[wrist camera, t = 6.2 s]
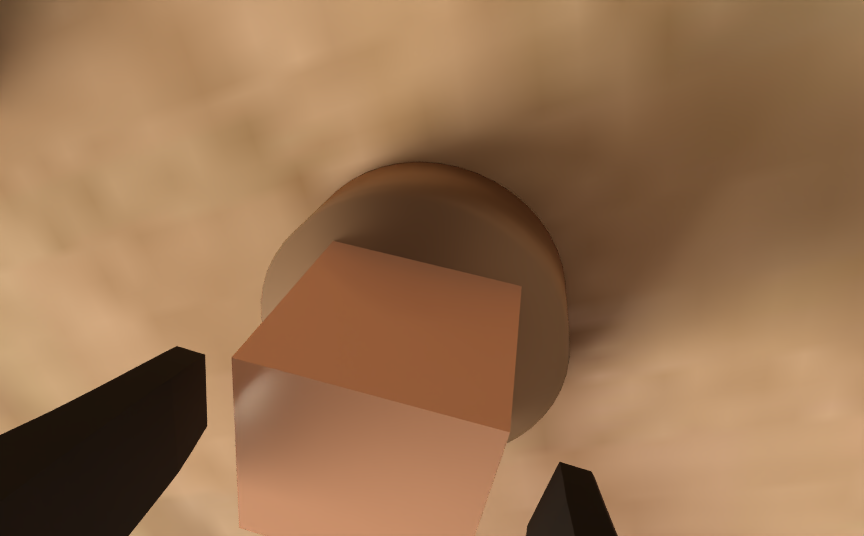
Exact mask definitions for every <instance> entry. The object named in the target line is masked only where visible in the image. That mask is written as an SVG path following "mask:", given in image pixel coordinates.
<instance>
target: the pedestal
mask: <svg viewBox="0 0 864 536" xmlns="http://www.w3.org/2000/svg"><path fill="white" fill-rule="evenodd" d="M333 241H336V242H340V243H344V244H348V245H353V246H357V247H361V248H365V249H369V250H373V251H378V252H382V253H386V254H390V255H394V256H398V257H403V258H407V259H411V260H415V261H419V262H423V263H427V264H432V265H436V266H440V267H444V268H448V269H452V270H457V271H461V272H465V273H469V274H473V275H477V276H482V277H486V278H490V279H494V280H498V281H502V282H506V283H511V284H515V285H519V286H522V289H521V301H520V314H519V326H518V339H517V352H516V364H515V377H514V390H513V402H512V415H511V428H510V434H509V437H508V440H507V443H508V442H510V441H512V440H514V439H516V438H517V437H519V436H520V435H522V434H523V433H525V432H526V431H527V430H529V429H530V428H532V427H533V426H534V425H535V424H536V423H537V422H538V421H539V420H540V419H541V418H542V417H543V416H544V415H545V414H546V412H547V411H548V410H549V409H550V407H551V406H552V405H553V403H554V401H555V400H556V398H557V396H558V394H559V392H560V391H561V388H562V385H563V383H564V380H565V377H566V374H567V369H568V363H569V357H570V338H569V325H568V312H567V299H566V286H565V278H564V272H563V266H562V263H561V260H560V257H559V254H558V251H557V249H556V247H555V244H554V242H553V240H552V238H551V236H550V234H549V233H548V231H547V230H546V228H545V227H544V226H543V224H542V223H541V221H540V220H539V218H538V217H537V216H536V215H535V214H534V213H533V212H532V211H531V210H530V208H529V207H528V206H527V205H526V204H525V203H523V202H522V201H521V200H520V199H519V198H517V197H516V196H515V195H514V194H513V193H512V192H510V191H508V190H507V189H505V188H504V187H502V186H501V185H499V184H498V183H496V182H494V181H492V180H490V179H488V178H486V177H484V176H482V175H480V174H478V173H475V172H472V171H469V170H466V169H463V168H460V167H456V166H451V165H446V164H440V163H428V162H411V163H399V164H394V165H389V166H384V167H381V168H378V169H375V170H372V171H369V172H367V173H364V174H362V175H361V176H359V177H357V178H355V179H353V180H351V181H350V182H348V183H347V184H346V185H344V186H343V187H341V188H340V189H339V190H337V191H336V192H335V193H334V194H333V195H332V196H331V197H330V198H329V199H328V200H327V201H326V202H325V203H324V204H323V205H321V206H320V207H319V208H318V209H317V210H316V211H315V212H314V213H313V214H312V215H311V216H310V217H309V218H308V219H307V220H306V221H305V222H304V223H302V224H301V225H300V226H299V227H298V228H297V229H296V230H295V231H294V232H293V233H292V234H291V235H290V236H289V237H288V238H287V239H286V240H285V241H284V243H283V244H282V246H281V247H280V248H279V250H278V251H277V253H276V254H275V256H274V258H273V260H272V262H271V264H270V266H269V268H268V270H267V273H266V277H265V281H264V284H263V289H262V298H261V318H262V322H263V321H264V320H265V319H266V318H267V316H268V315H269V314H270V313H271V312H272V311H273V309H274V308H275V307H276V306H277V305H278V304H279V303H280V301H281V300H282V299H283V298H284V297H285V296H286V295H287V293H288V292H289V291H290V290H291V289H292V288H293V287H294V285H295V284H296V283H297V282H298V281H299V280H300V278H301V277H302V276H303V275H304V274H305V273H306V272H307V270H308V269H309V268H310V267H311V266H312V265H313V264H314V262H315V261H316V260H317V259H318V258H319V257H320V255H321V254H322V253H323V252H324V251H325V250H326V249H327V247H328V246H329V245H330V244H331V243H332V242H333Z"/></svg>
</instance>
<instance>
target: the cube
mask: <svg viewBox="0 0 864 536" xmlns="http://www.w3.org/2000/svg"><path fill="white" fill-rule="evenodd" d="M521 289H522V286H519V285H515V284H511V283H506V282H502V281H498V280H494V279H490V278H486V277H482V276H477V275H473V274H469V273H465V272H461V271H457V270H452V269H448V268H444V267H440V266H436V265H432V264H427V263H423V262H419V261H415V260H411V259H407V258H403V257H398V256H394V255H390V254H386V253H382V252H378V251H373V250H369V249H365V248H361V247H357V246H353V245H348V244H344V243H340V242H336V241H333V242H332V243H331V244H330V245H329V246H328V247H327V249H326V250H325V251H324V252H323V253H322V254H321V255H320V257H319V258H318V259H317V260H316V261H315V262H314V264H313V265H312V266H311V267H310V268H309V269H308V270H307V272H306V273H305V274H304V275H303V276H302V277H301V278H300V280H299V281H298V282H297V283H296V284H295V285H294V287H293V288H292V289H291V290H290V291H289V292H288V293H287V295H286V296H285V297H284V298H283V299H282V300H281V301H280V303H279V304H278V305H277V306H276V307H275V308H274V309H273V311H272V312H271V313H270V314H269V315H268V316H267V318H266V319H265V320H264V321H263V322H262V323H261V324H260V326H259V327H258V328H257V329H256V330H255V331H254V332H253V334H252V335H251V336H250V337H249V338H248V339H247V341H246V342H245V343H244V344H243V345H242V346H241V347H240V349H239V350H238V351H237V352H236V353H235V354H234V355H233V357H232V375H233V398H234V420H235V442H236V465H237V487H238V509H239V528H242V529H245V530H248V531H252V532H255V533H258V534H261V535H265V536H475V533H476V530H477V528H478V525H479V522H480V519H481V516H482V513H483V510H484V507H485V504H486V501H487V498H488V495H489V493H490V490H491V487H492V484H493V481H494V478H495V475H496V472H497V469H498V466H499V463H500V461H501V458H502V455H503V452H504V449H505V446H506V443H507V440H508V437H509V434H510V428H511V415H512V402H513V390H514V377H515V364H516V352H517V339H518V326H519V314H520V301H521Z"/></svg>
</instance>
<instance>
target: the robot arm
mask: <svg viewBox="0 0 864 536" xmlns="http://www.w3.org/2000/svg"><path fill="white" fill-rule="evenodd" d="M206 427H207V402H206V369H205V355H204V354H201V353H198V352H194V351H191V350H188V349H185V348H181V347H178V346H176V347H174V348H172V349H170V350H168V351H166V352H164V353H162V354H160V355H159V356H157V357H155V358H153V359H151V360H149V361H147V362H145V363H143V364H141V365H140V366H138V367H136V368H134V369H132V370H130V371H128V372H126V373H124V374H122V375H121V376H119V377H117V378H115V379H113V380H111V381H109V382H107V383H105V384H103V385H102V386H100V387H98V388H96V389H94V390H92V391H90V392H88V393H86V394H84V395H82V396H80V397H78V398H76V399H74V400H72V401H70V402H68V403H66V404H64V405H62V406H60V407H58V408H56V409H54V410H52V411H50V412H48V413H46V414H44V415H42V416H40V417H38V418H36V419H33V420H31V421H29V422H27V423H25V424H23V425H21V426H19V427H16V428H14V429H12V430H10V431H8V432H6V433H4V434H1V435H0V536H129V535H130V533H131V532H132V531H133V530H134V528H135V527H136V526H137V525H138V523H139V522H140V521H141V520H142V518H143V517H144V516H145V515H146V513H147V512H148V511H149V509H150V508H151V507H152V506H153V504H154V503H155V502H156V501H157V499H158V498H159V497H160V495H161V494H162V493H163V492H164V490H165V489H166V488H167V487H168V485H169V484H170V483H171V481H172V480H173V479H174V477H175V476H176V475H177V474H178V472H179V471H180V469H181V468H182V466H183V464H184V463H185V461H186V460H187V458H188V457H189V455H190V453H191V452H192V450H193V449H194V447H195V445H196V444H197V442H198V440H199V439H200V437H201V435H202V434H203V432H204V430H205V429H206ZM526 536H618V535H617V533H616V531H615V528H614V526H613V523H612V521H611V518H610V516H609V513H608V511H607V508H606V506H605V503H604V500H603V498H602V495H601V493H600V490H599V488H598V485H597V482H596V480H595V477H594V475H593V474H592V472H591V471H588V470H585V469H581V468H578V467H575V466H572V465H568V464H565V463H562V462H559V464H558V466H557V468H556V470H555V472H554V474H553V476H552V478H551V480H550V482H549V484H548V486H547V488H546V490H545V492H544V494H543V496H542V498H541V500H540V502H539V504H538V506H537V508H536V510H535V512H534V514H533V516H532V518H531V520H530V521H529V523H528V525H527V533H526Z"/></svg>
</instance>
